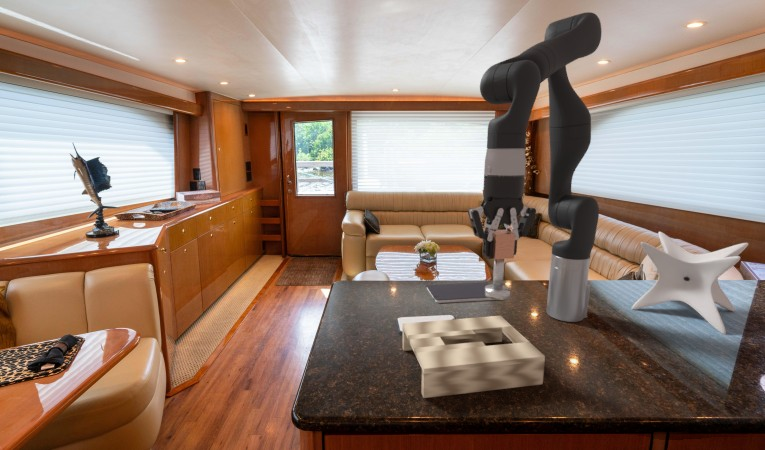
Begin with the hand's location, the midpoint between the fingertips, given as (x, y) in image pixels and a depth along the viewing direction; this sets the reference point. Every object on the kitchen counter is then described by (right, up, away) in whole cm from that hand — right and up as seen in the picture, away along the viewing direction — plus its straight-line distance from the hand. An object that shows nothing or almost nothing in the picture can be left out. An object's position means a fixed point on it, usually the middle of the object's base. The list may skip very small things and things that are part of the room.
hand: (499, 257), depth 74 cm
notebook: (+2, -16, +43) cm, 46 cm away
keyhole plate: (-6, -23, +4) cm, 24 cm away
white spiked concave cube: (+62, -18, +30) cm, 71 cm away
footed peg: (0, -8, +2) cm, 8 cm away
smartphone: (-12, -20, +21) cm, 31 cm away
